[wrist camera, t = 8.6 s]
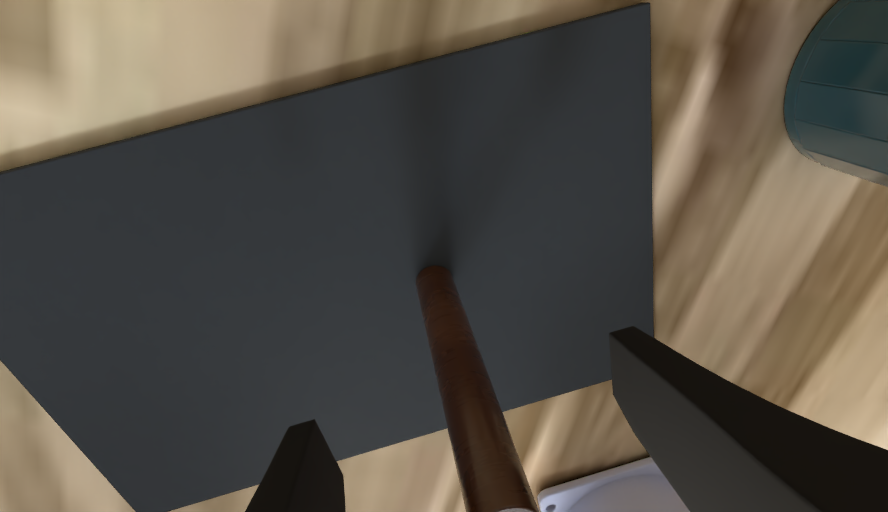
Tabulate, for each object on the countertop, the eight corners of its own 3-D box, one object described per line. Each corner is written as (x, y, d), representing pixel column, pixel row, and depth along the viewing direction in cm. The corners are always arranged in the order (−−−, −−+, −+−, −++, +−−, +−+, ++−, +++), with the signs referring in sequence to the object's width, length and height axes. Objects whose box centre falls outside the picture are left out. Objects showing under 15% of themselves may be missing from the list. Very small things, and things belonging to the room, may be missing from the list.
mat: (649, 360, 20) (654, 367, 20) (145, 510, 20) (141, 519, 19) (643, 2, 14) (650, 2, 13) (-123, 204, 13) (-136, 209, 13)
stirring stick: (456, 291, 17) (545, 539, 9) (420, 301, 17) (479, 561, 9) (448, 260, 16) (537, 498, 8) (411, 271, 16) (465, 520, 8)
